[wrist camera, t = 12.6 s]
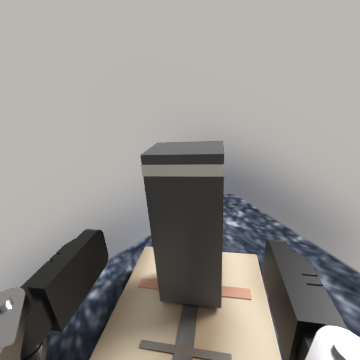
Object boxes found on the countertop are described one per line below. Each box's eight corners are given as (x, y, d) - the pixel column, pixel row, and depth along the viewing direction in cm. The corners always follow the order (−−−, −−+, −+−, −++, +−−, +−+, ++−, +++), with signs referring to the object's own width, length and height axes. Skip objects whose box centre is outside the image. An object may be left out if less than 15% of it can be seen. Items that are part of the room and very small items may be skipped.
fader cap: (159, 301, 14) (140, 155, 10) (169, 266, 16) (157, 142, 13) (221, 308, 13) (224, 153, 9) (221, 271, 16) (223, 140, 12)
